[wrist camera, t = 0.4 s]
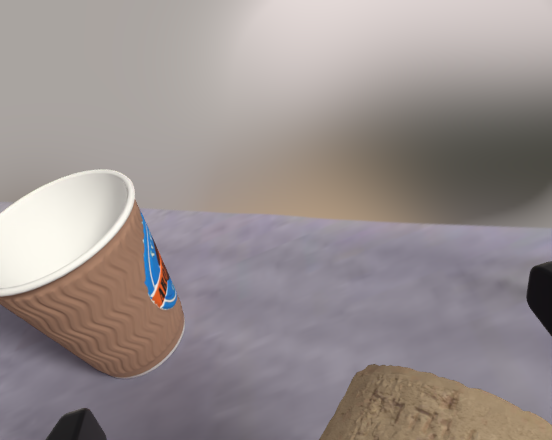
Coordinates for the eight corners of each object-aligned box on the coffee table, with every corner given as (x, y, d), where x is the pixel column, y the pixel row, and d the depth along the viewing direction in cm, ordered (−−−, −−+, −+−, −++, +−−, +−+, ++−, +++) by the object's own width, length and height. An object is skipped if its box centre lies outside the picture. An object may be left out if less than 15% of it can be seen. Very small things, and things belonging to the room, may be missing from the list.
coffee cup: (228, 347, 30) (152, 222, 22) (88, 435, 28) (-49, 330, 20) (182, 264, 38) (114, 149, 30) (70, 328, 35) (-34, 221, 28)
